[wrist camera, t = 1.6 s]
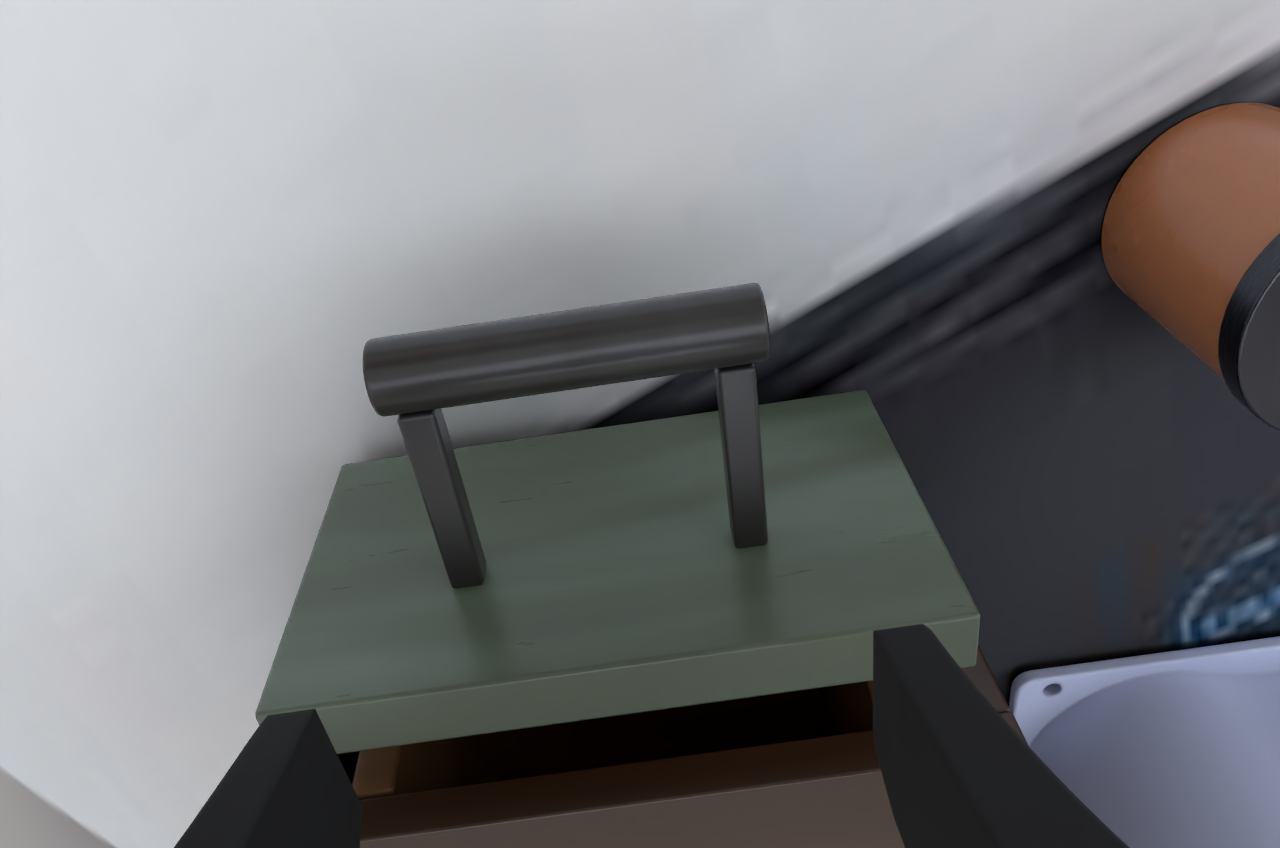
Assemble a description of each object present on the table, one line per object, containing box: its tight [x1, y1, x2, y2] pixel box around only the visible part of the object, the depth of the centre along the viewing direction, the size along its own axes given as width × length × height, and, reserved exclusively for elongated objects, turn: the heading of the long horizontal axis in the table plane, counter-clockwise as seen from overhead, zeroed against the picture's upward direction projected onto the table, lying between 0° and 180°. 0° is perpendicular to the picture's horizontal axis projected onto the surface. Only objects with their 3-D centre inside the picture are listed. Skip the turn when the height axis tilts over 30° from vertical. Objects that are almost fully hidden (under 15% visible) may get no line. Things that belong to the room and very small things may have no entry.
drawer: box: [256, 283, 980, 800], centre depth 20 cm, size 17×11×7 cm, turn 7°
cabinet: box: [337, 645, 1029, 848], centre depth 22 cm, size 14×13×9 cm
